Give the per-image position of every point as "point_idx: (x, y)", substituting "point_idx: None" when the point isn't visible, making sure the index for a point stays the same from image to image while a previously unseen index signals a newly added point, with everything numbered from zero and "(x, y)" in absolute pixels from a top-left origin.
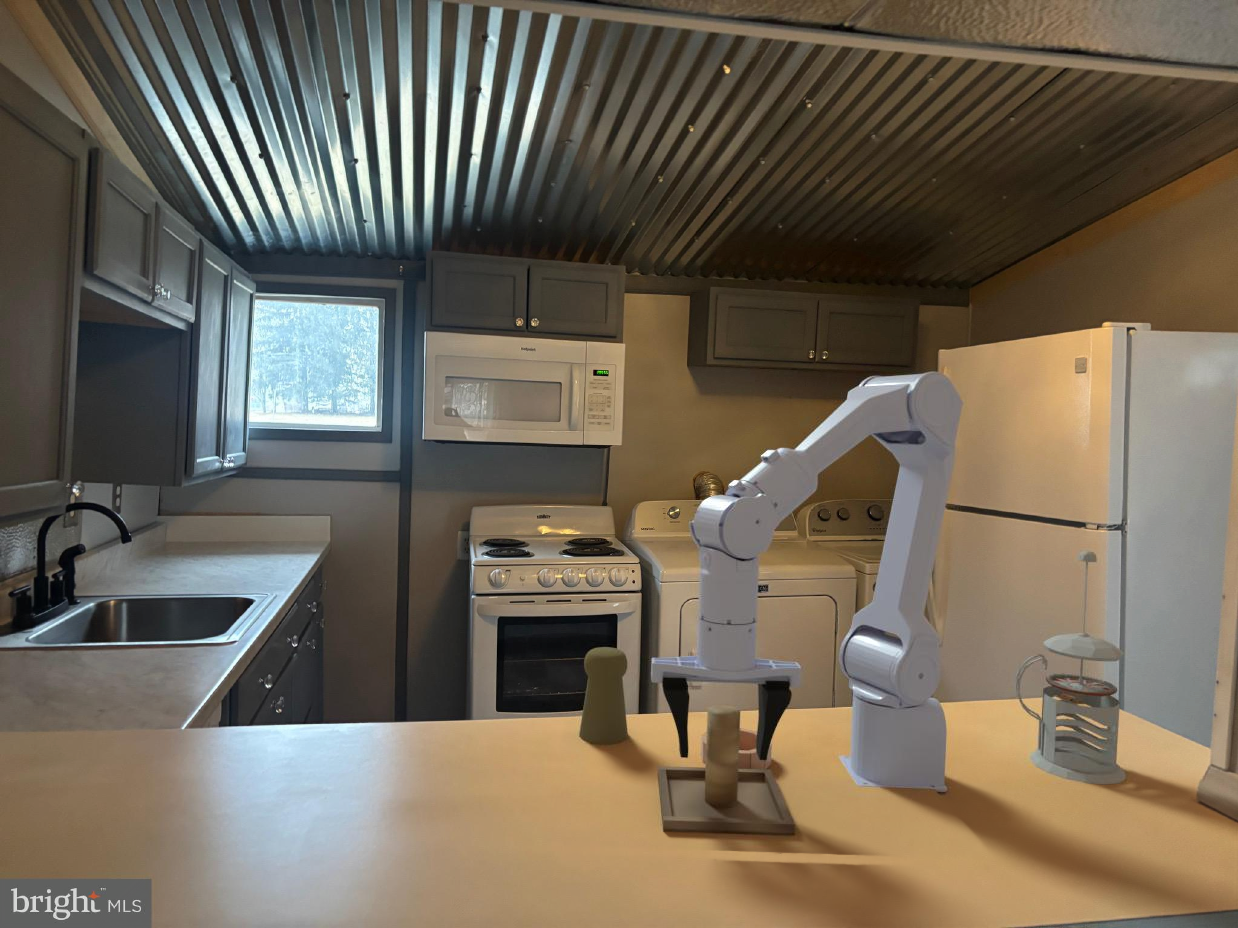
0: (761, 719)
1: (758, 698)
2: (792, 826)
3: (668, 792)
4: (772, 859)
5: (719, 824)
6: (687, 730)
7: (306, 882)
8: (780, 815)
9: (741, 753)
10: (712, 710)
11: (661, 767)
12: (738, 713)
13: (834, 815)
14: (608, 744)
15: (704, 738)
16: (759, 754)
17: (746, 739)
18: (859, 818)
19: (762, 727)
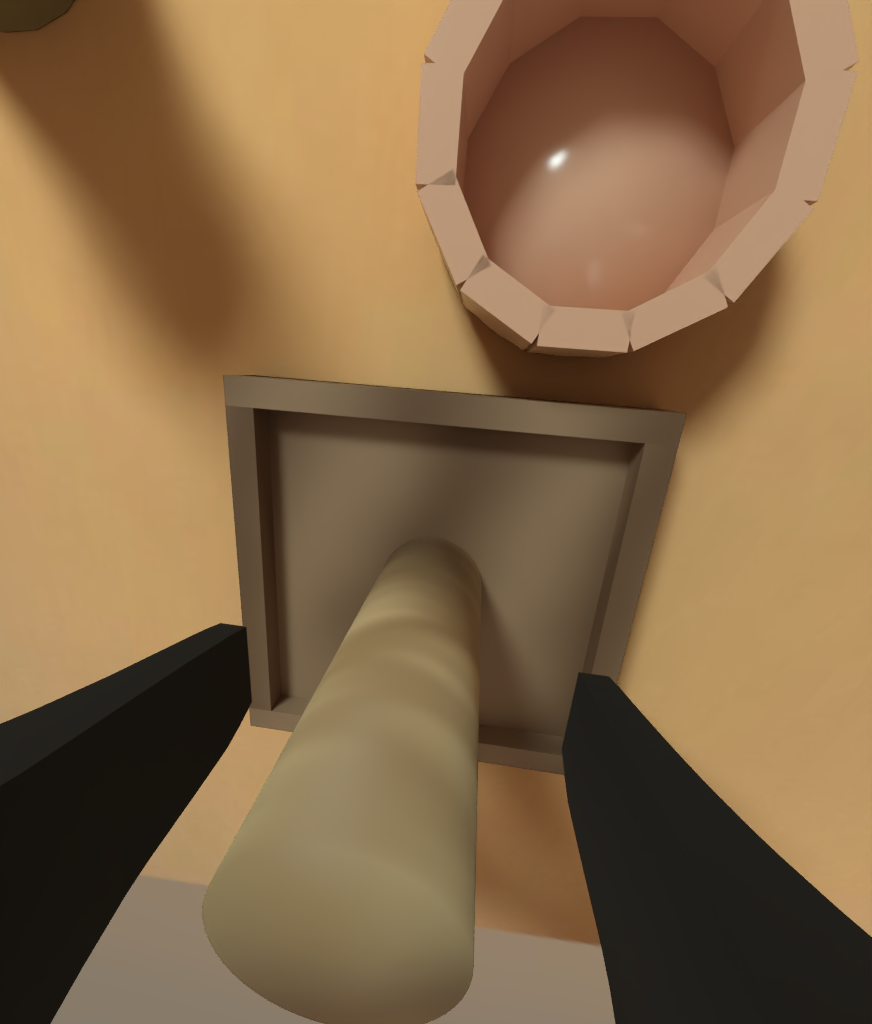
0: (641, 937)
1: (766, 1001)
2: None
3: (263, 585)
4: (501, 791)
5: None
6: (152, 854)
7: None
8: None
9: (582, 348)
10: (242, 929)
11: (237, 389)
12: (444, 1008)
13: (774, 631)
14: (11, 8)
15: (431, 119)
16: (567, 758)
17: None
18: (846, 653)
19: (615, 921)
